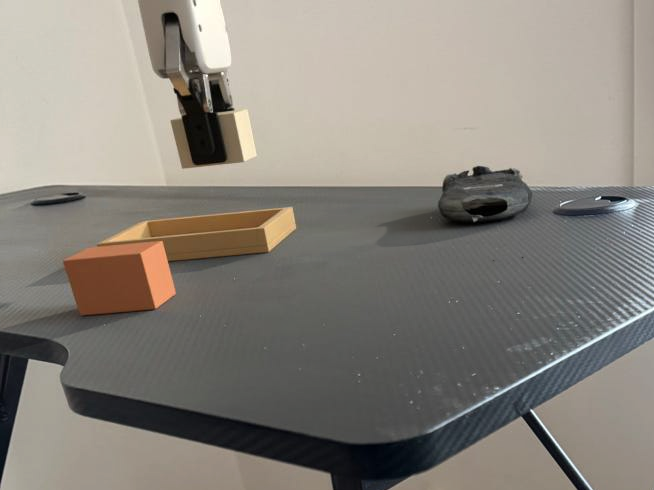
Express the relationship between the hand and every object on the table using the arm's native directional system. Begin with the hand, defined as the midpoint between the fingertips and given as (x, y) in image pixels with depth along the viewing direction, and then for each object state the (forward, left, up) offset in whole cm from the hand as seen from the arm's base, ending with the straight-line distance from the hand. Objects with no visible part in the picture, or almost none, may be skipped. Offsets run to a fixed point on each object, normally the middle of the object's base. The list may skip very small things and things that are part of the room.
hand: (218, 157), depth 88 cm
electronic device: (+25, +5, -8) cm, 26 cm away
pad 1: (-2, -24, -8) cm, 25 cm away
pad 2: (0, 0, 0) cm, 0 cm away
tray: (-3, 0, -8) cm, 8 cm away
